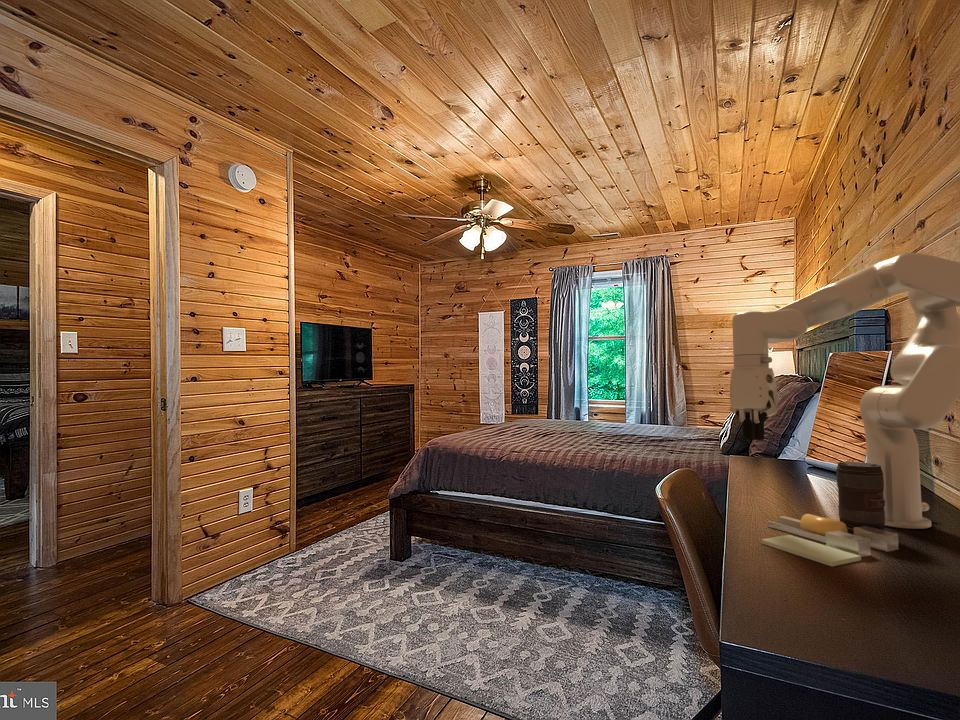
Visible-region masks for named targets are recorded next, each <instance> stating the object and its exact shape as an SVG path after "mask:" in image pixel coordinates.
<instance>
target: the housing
mask: <svg viewBox="0 0 960 720" xmlns="http://www.w3.org/2000/svg"><path fill="white" fill-rule="evenodd" d="M767 527H769V528H771V529H775V530H777V531H778V530H779V531H783V532H786V533H789V534H791V535H794V536H795V535H796V536H800V537H802V538H805V539H806V538H807V539H810V540H813V541H817V542H820V543H823V544H825V545H826V546H829V547H832V548H836V549H839V550H843V551H846V552H849V553H853V554H856V555H860V556H861V558H864V557H865V558H866V557H869V556H871V555H872V553H871V549H872V548H873V549H876V550H880V551H884V552H887V553H888V552H893V551H897V550H899V549H900V548H899V547H900V546H899V545H900V544H899V533H897V532H892V531H888V530H885V529H884V530H880V529H876V528H872V527H868V526H860V527H855V528H854V535H852V534H849V533H845V532H841V531H832V532H826V536H822V535H819V534H815V533H812V532H808V531H804V530H801V529H797V528H793V527H790V526H786V525H783V524H779V523H778V522H776V521H775V522H774V521H771V520H767Z"/></svg>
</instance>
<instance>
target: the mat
mask: <svg viewBox="0 0 960 720" xmlns="http://www.w3.org/2000/svg"><path fill="white" fill-rule="evenodd" d="M761 544H762V545H766V546H768V547H771V548H774V549H777V550H780V551H784V552H787V553H789V554H793V555H796V556H798V557H802V558H805V559H808V560H811V561H813V562H817V563H821V564H823V565H826V566H829V567H836V566H842V565H845V564H849V563H850V564H851V563H855V562H860V561H862V557H861V556H860V555H856V554H853V553H849V552H846V551H843V550H839V549H836V548H832V547H829V546H826V544H821V543H818V542H815V541H812V540H808V539H806V538H803V537H802V538H801V537H798V536H795V535H793V534H791V535H790V534H785V535H779V536H774V537H773V536H772V537H767V538H762V539H761Z"/></svg>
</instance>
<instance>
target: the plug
mask: <svg viewBox="0 0 960 720" xmlns="http://www.w3.org/2000/svg"><path fill="white" fill-rule="evenodd" d="M777 520H778V522H777V523H779V524H783V525H786V526H790V527H793V528H797V529H801V530H804V531H808V532H812V533H815V534H819V535H822V536H826V532H832V531H841V532H845V533H847V527H846V525H845V524H844V523H843V522H840V520H836V519H831V518H827V517H822V516H818V515H815V514H811V513H805V514H803V515H802V516H801V519H799V518H798V519H797V518H793V517H789V516H787V515H786V516H785V515H783V516H782V515H781V516H778V518H777Z"/></svg>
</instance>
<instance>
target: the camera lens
mask: <svg viewBox="0 0 960 720" xmlns="http://www.w3.org/2000/svg"><path fill="white" fill-rule="evenodd" d="M835 470H836V486H837V492H838V493H837V494H838V517H839V521H840V522H843V523H844V524H845V525H846V527H847V533H849V534H852V535H854V528H855V527H860V526H868V527H872V528H876V529H880V530H884V531H885V525H884V524H885V511H884V506H885V500H884V499H883V491H884V478H883V472H882V469H881V465H878V464H872V463H867V462H859V461H857V462H856V461H855V462H854V461H841V462H837V466H836V469H835Z"/></svg>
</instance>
